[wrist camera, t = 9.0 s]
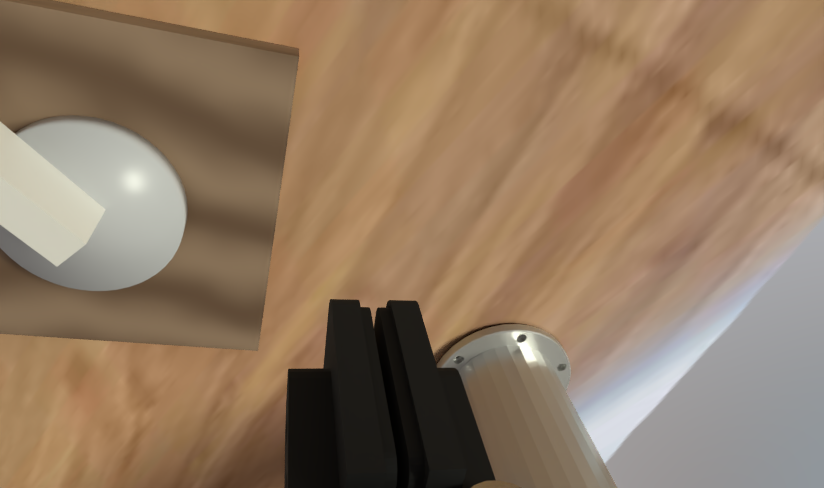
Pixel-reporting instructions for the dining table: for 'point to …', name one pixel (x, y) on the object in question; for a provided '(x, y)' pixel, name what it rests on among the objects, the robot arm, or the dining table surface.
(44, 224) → the dial
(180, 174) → the dial plate
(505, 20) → the dining table surface
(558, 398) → the robot arm
